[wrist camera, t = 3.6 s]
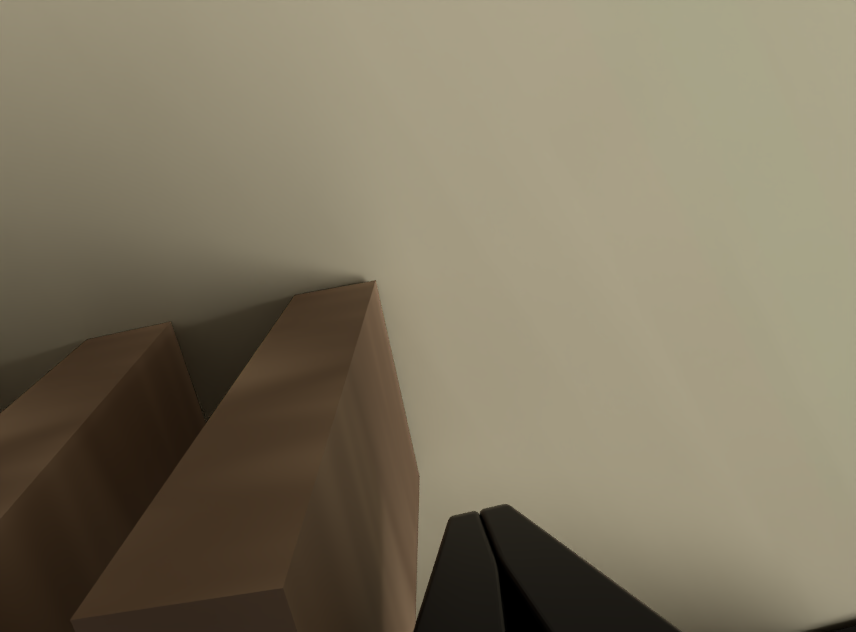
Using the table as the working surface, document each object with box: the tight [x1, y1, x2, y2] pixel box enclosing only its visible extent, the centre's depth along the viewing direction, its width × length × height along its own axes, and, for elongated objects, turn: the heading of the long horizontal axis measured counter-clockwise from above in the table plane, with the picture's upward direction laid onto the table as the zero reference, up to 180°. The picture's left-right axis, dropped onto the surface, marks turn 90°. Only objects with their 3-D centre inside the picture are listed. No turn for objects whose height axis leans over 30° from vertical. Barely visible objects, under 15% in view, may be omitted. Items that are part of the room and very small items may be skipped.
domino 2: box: [70, 280, 420, 632], centre depth 10 cm, size 2×5×9 cm, turn 11°
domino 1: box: [0, 322, 206, 632], centre depth 10 cm, size 2×5×9 cm, turn 11°
